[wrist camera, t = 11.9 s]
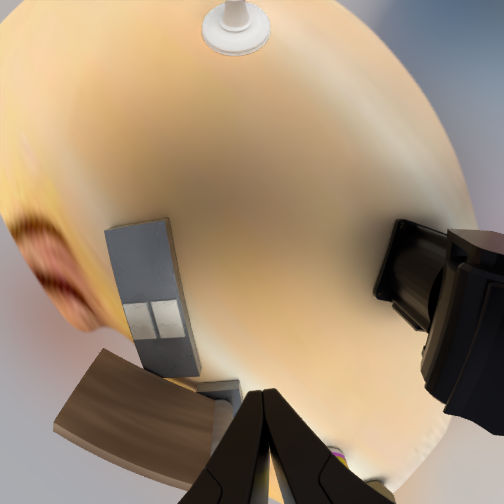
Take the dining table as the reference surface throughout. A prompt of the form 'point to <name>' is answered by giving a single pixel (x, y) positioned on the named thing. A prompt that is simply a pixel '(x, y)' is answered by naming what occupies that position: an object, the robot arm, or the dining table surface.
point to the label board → (159, 305)
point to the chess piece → (236, 28)
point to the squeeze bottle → (382, 489)
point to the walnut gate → (143, 421)
